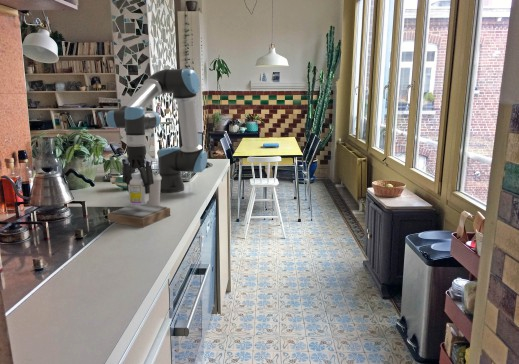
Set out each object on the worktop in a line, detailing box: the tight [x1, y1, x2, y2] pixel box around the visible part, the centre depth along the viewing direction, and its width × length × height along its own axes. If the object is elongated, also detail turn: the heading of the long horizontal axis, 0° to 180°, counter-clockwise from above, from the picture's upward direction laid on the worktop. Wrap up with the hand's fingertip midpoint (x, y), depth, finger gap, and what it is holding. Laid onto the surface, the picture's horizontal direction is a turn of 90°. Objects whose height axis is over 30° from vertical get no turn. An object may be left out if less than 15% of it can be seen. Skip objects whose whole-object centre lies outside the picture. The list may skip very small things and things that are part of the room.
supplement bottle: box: [130, 172, 147, 205], centre depth 175 cm, size 7×7×13 cm
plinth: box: [107, 204, 171, 228], centre depth 177 cm, size 18×18×4 cm
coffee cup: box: [146, 172, 162, 206], centre depth 196 cm, size 10×10×15 cm
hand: (138, 200), depth 176 cm, fingers closed on supplement bottle, 7 cm apart
